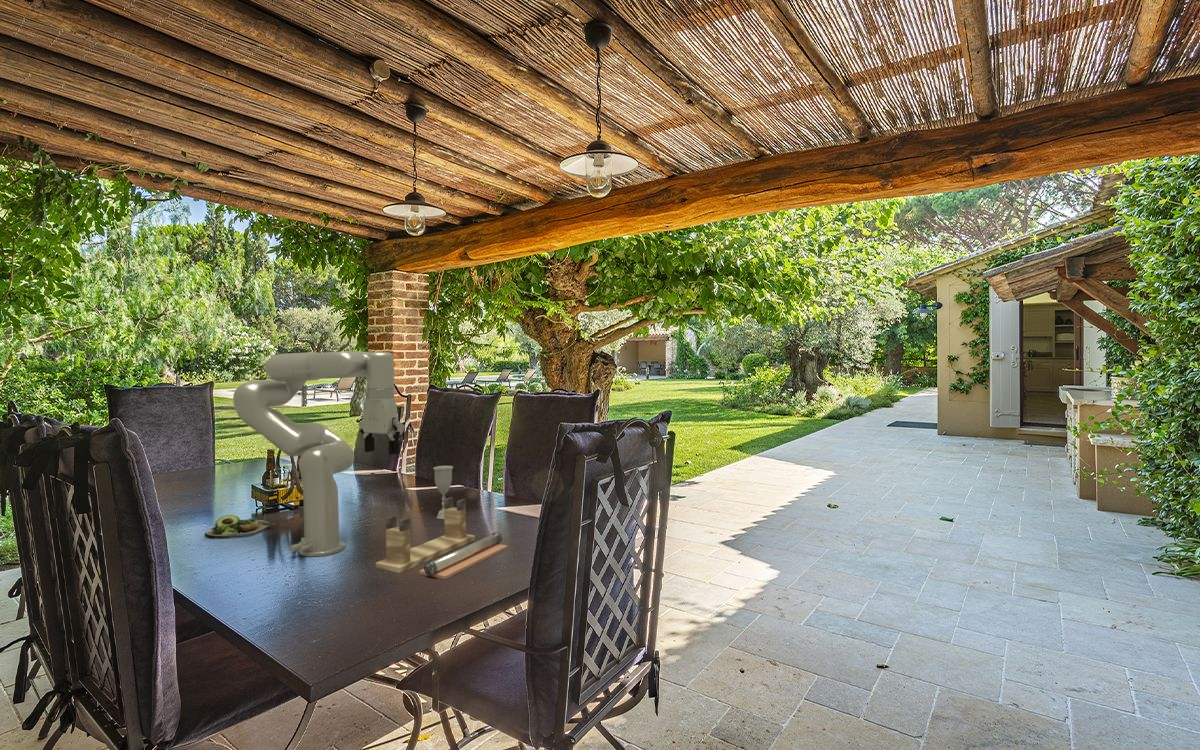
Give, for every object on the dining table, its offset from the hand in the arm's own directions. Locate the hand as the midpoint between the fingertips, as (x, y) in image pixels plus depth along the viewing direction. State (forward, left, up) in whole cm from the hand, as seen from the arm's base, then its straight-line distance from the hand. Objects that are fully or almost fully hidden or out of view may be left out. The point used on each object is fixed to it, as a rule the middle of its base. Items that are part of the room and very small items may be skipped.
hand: (381, 452), depth 177 cm
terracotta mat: (+7, -25, -30) cm, 40 cm away
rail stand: (+7, -11, -30) cm, 33 cm away
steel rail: (+7, -25, -28) cm, 38 cm away
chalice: (+40, +12, -31) cm, 52 cm away
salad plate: (-4, +63, -31) cm, 70 cm away
